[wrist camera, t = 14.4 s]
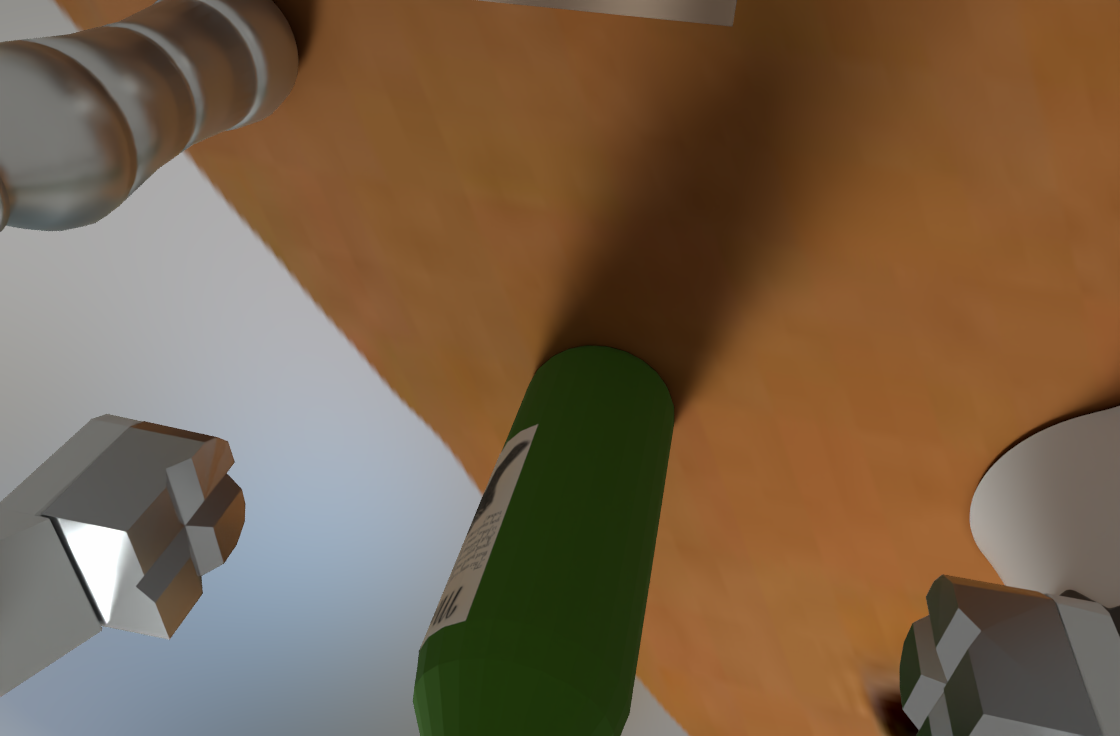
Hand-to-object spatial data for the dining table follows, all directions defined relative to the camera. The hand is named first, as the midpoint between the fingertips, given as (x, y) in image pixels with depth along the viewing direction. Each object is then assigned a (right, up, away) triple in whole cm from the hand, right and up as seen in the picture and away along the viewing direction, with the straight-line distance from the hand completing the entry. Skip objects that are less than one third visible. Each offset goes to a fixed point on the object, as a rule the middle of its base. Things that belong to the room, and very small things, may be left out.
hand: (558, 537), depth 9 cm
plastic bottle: (-15, +18, +30) cm, 38 cm away
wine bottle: (+3, 0, +39) cm, 39 cm away
